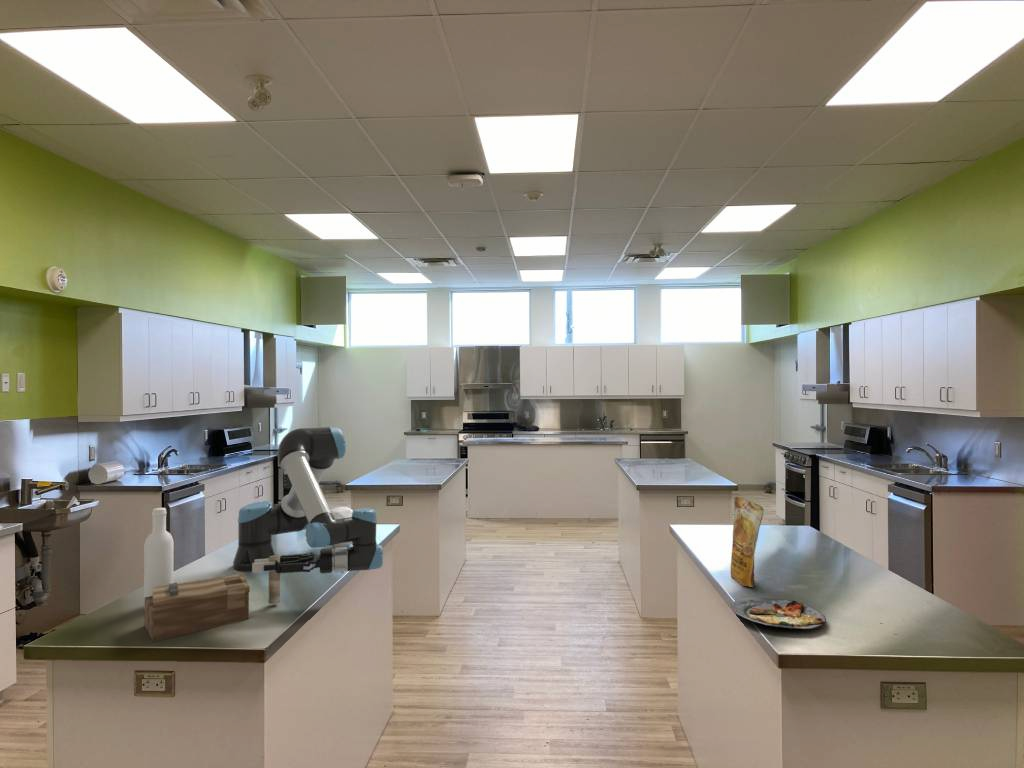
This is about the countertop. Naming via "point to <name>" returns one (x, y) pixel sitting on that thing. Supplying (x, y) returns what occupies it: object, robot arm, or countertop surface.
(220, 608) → the toolbox
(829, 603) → the countertop surface
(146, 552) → the bottle
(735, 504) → the pancake mix bag
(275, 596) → the pin
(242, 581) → the toolbox lid
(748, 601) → the food plate
